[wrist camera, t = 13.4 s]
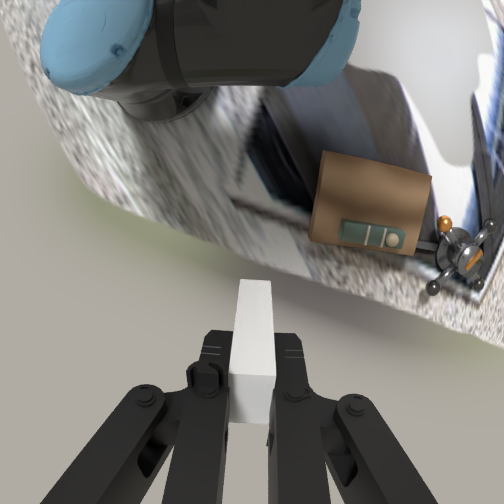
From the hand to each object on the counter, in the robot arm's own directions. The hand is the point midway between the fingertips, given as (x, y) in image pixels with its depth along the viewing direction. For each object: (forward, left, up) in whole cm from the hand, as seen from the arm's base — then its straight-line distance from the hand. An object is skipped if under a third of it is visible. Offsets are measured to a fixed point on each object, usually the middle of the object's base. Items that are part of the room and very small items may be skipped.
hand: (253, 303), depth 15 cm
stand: (-2, +16, -29) cm, 33 cm away
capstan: (+3, +35, -28) cm, 44 cm away
